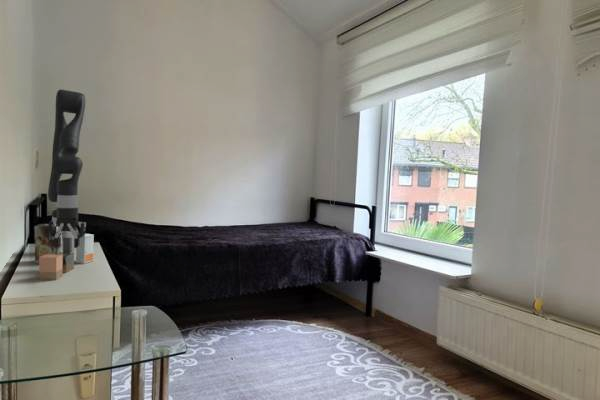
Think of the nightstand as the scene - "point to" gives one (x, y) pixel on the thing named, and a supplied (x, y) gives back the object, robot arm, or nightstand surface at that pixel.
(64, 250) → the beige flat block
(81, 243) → the skincare box
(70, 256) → the sleeve
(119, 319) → the nightstand surface
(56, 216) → the robot arm
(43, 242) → the coffee box
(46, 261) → the peach rectangular block
